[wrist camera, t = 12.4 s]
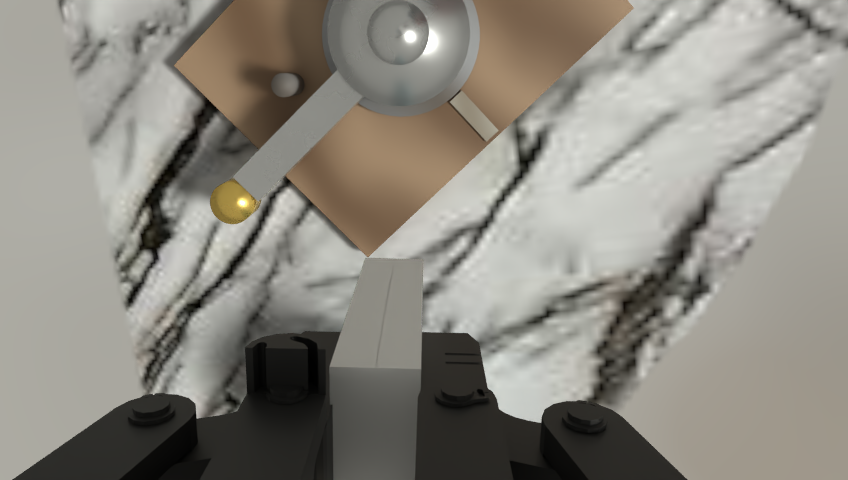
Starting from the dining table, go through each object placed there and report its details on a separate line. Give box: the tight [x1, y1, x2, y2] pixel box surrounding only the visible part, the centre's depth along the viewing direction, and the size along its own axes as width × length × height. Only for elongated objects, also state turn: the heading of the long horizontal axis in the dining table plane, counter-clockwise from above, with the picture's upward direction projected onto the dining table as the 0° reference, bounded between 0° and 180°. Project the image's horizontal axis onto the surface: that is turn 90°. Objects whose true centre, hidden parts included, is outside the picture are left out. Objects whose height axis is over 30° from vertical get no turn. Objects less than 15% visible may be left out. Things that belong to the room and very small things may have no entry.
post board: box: [174, 0, 633, 257], centre depth 35 cm, size 20×15×4 cm
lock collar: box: [210, 0, 470, 224], centre depth 35 cm, size 7×17×3 cm, turn 134°
